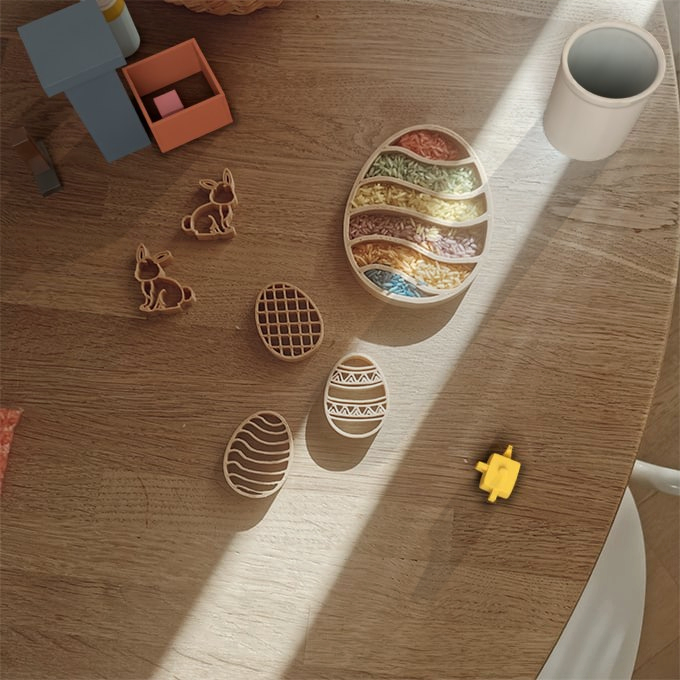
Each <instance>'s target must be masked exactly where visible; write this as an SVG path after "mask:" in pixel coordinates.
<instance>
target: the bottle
mask: <svg viewBox="0 0 680 680" xmlns="http://www.w3.org/2000/svg"><path fill="white" fill-rule="evenodd" d="M81 1H84V0H79V2H81ZM96 1H97V3H98V5H99V8H100V10H101V12H102V14H103V16H104V18H105V20H106V22H107V24H108V26H109V28H110V30H111V32H112V34H113V36H114V38H115V40H116V42H117V44H118V46H119V48H120V50H121V52H122V54H123V56H124V59H126V58H128V57H131V56H132V55H133V54H134V53H136V52H137V50H138V49H139V47H140V43H141V38H140V35H139V32H138V30H137V28H136V26H135V23H134V21H133V18H132V16H131V14H130V12H129V10H128V7H127V5H126V2H125V0H96Z"/></svg>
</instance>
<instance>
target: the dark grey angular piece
mask: <svg viewBox="0 0 680 680" xmlns="http://www.w3.org/2000/svg"><path fill="white" fill-rule="evenodd" d="M6 135H7V138H8V140H9V143H10V146H11V147H12V148H13V150H14V151H15V152H16V153H17V155H18V156H19V158H21V160H22V161H23V163H25V165H26V166H27V167H28V168H29V169H30V170H31V173H32V175H33V178H34V180H35V183H36V185H37V188H38V191H39V193H40V194H41V195H42V197H43V198H46V197H48V196H51V195H53V194H55V193H57V192H60V191H62V190H64V186H63V184H62V182H61V180H60V177H59V175H58V172H57V170H56V167H55V165H54V163H53V160H52V158H51V155H50V153H49V150H48V148H47V146H46V144H45V142H44V141H43V140H42V139H40V140H38V141H35V140H34V139H33V137H32V136H31V134H30V133H29V132H28V131H27V129H26V128H25V126H20V127H17V128H16V129H13V130H12V131H8V132H6Z"/></svg>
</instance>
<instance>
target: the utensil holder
mask: <svg viewBox="0 0 680 680" xmlns="http://www.w3.org/2000/svg"><path fill="white" fill-rule="evenodd" d="M666 60H667V59H666V55H665V52H664V49H663V47H662V45H661V44H660V42H659V41H658V40H657V38H656V37H655V35H653V34H652V33H650V32H649V31H648V30H647V29H645V28H644V27H642V26H640V25H639V24H636V23H633V22H630V21H627V20H623V19H614V18H613V19H612V18H611V19H599V20H595V21H592V22H589V23H586V24H585V25H582V26H581V27H579V28H577V29H576V30H575V31H573V32H572V34H571V35H570V36H569V37H568V38H567V39H566V41H565V43H564V45H563V47H562V51H561V55H560V59H559V65H558V69H557V72H556V75H555V78H554V81H553V85H552V87H551V91H550V94H549V97H548V100H547V104H546V107H545V112H544V115H543V120H542V128H543V133H544V136H545V138H546V140H547V141H548V143H549V145H551V147H552V148H553V149H554V150H556V151H557V152H558V153H560V154H561V155H562V156H565V157H567V158H570V159H573V160H576V161H580V162H595V161H601V160H603V159H606V158H608V157H610V156H612V155H613V154H615V153H616V152H618V151H619V149H620V148H621V147H622V145H623V144H624V143H625V141H626V139H627V137H628V136H629V135H630V133H631V131H632V130H633V128H634V126H635V125H636V123H637V121H638V120H639V118H640V116H641V114H642V113H643V111H644V109H645V107H646V106H647V104H648V102H649V100H650V98H651V97H652V95H654V93H655V92H656V91H657V89H658V88H659V87H660V85H661V83H662V81H663V79H664V77H665V74H666V70H667V61H666Z"/></svg>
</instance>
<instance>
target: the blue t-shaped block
mask: <svg viewBox="0 0 680 680" xmlns="http://www.w3.org/2000/svg"><path fill="white" fill-rule="evenodd" d="M16 30H17V32H18V34H19V36H20V37H19V38H20V39H21V41H22V43H23V46H24V48H25V50H26V53H27V55H28V58H29V60H30V62H31V65H32V67H33V69H34V71H35V73H36V76H37V78H38V80H39V83H40V85H41V87H42V89H43V91H44V92H45V94H46V95H47V97H48V98H51V97H53V96H56V95H58V94H61V93H62V92H63V93H64V95H65V96H66V98H67V100H68V101H69V103H70V104H71V106H72V107H73V109H74V110H75V112H76V114H77V115H78V117H79V118H80V120H81V122H82V123H83V125H84V126H85V128H86V130H87V131H88V133H89V135H90V137H91V138H92V140H93V141H94V143H95V144H96V146H97V148H98V149H99V151H100V152H101V154H102V155H103V157H104V159H105V160H106V162H107V163H108V164H110V163H112V162H114V161H116V160H120V159H121V158H124V157H126V156H128V155H131V154H132V153H135V152H137V151H139V150H141V149H144V148H147V147H148V146H151V145H152V141H151V139H150V137H149V135H148V133H147V131H146V129H145V127H144V124H143V123H142V120H141V118H140V117H139V114H138V113H137V111H136V108H135V106H134V104H133V102H132V100H131V99H130V96H129V95H128V93H127V90H126V88H125V87H124V84H123V82H122V80H121V78H120V76H119V74H118V72H117V69H119V68H122V67H124V66H126V65H127V64H128V63H127V60H126V58H124V56H123V54H122V52H121V50H120V48H119V46H118V44H117V42H116V40H115V38H114V36H113V34H112V32H111V30H110V28H109V26H108V24H107V22H106V20H105V18H104V16H103V14H102V12H101V10H100V8H99V5H98V3H97V1H96V0H84V1H79V2H77V3H74V4H72V5H69V6H67V7H65V8H62V9H60V10H57V11H55V12H53V13H50V14H48V15H45V16H43V17H40V18H38V19H36V20H33V21H31V22H28V23H26V24H23V25H21V26H18V27H17V28H16Z"/></svg>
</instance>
